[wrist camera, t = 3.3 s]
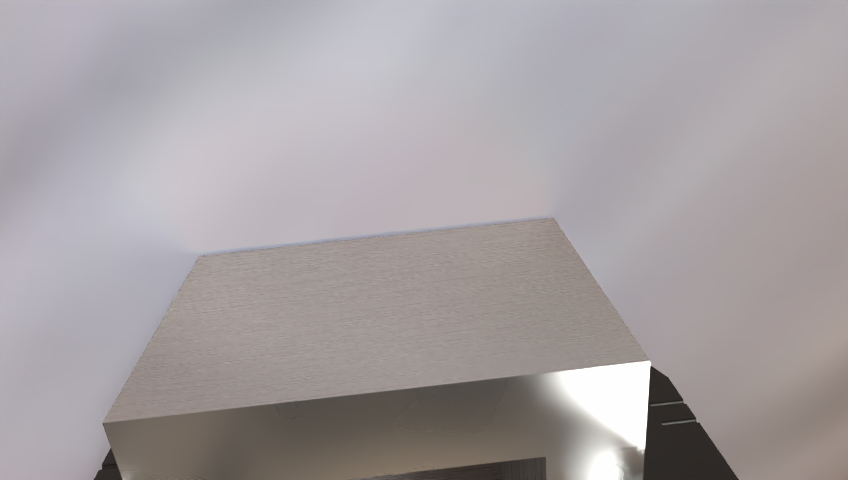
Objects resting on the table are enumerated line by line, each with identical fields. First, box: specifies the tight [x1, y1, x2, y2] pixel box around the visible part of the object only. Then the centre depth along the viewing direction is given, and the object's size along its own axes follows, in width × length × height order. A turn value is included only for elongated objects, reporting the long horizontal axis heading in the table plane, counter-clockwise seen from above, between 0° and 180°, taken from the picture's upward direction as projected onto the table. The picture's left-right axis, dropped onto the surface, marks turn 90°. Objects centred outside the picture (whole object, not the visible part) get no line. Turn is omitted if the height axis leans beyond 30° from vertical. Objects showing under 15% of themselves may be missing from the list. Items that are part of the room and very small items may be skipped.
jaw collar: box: [103, 218, 650, 480], centre depth 10 cm, size 6×6×4 cm
